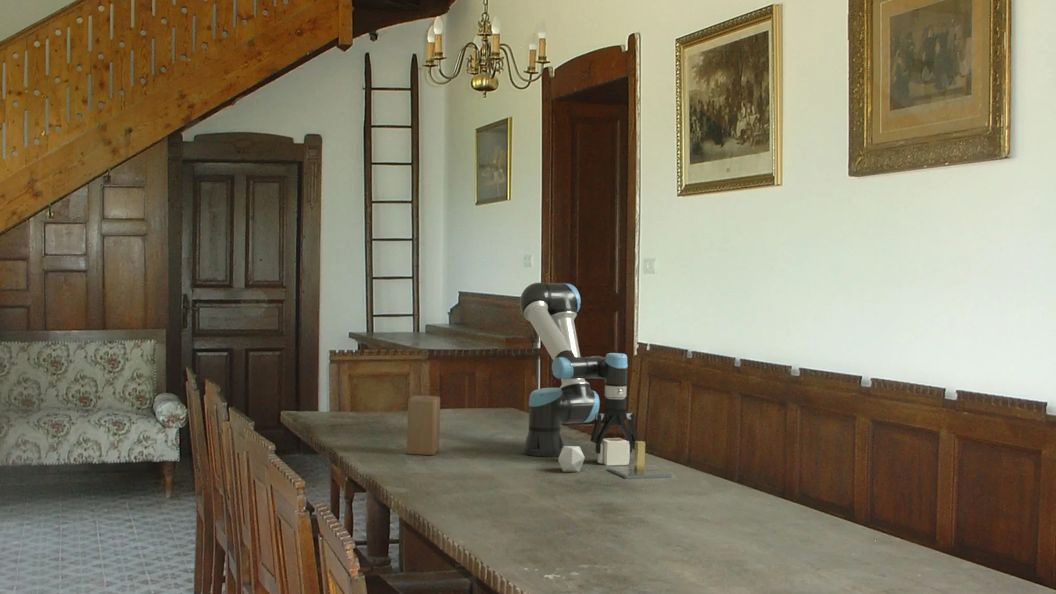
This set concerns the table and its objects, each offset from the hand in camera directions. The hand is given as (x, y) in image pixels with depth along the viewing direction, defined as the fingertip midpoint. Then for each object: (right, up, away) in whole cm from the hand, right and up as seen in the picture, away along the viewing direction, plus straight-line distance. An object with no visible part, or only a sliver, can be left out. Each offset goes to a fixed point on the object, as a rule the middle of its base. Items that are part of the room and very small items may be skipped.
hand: (613, 462), depth 382 cm
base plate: (+7, -1, -19) cm, 20 cm away
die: (-15, 0, -17) cm, 23 cm away
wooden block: (-67, +2, +9) cm, 68 cm away
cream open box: (0, 0, 0) cm, 0 cm away
